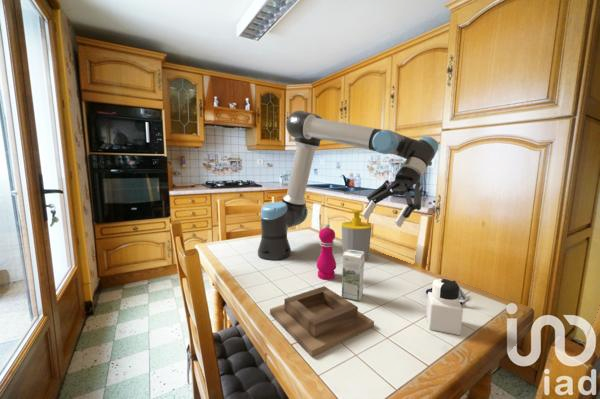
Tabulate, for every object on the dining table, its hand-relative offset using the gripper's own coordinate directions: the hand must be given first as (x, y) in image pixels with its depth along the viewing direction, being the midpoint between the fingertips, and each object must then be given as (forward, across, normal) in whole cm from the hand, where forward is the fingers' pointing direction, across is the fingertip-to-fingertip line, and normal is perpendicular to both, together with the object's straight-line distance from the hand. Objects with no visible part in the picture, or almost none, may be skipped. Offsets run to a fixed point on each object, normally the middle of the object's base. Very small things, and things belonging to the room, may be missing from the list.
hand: (379, 220), depth 88 cm
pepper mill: (+23, +17, -10) cm, 30 cm away
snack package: (+9, -18, -25) cm, 32 cm away
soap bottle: (+6, +26, -27) cm, 38 cm away
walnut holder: (+36, -4, +3) cm, 37 cm away
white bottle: (+18, -23, -16) cm, 34 cm away
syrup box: (+24, +1, -9) cm, 26 cm away
